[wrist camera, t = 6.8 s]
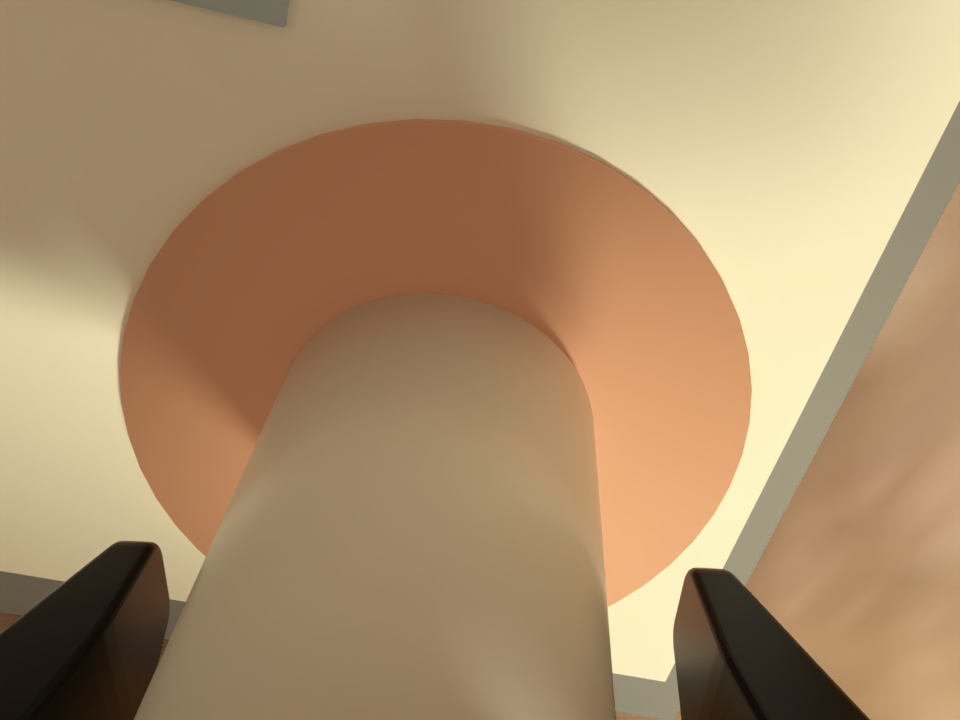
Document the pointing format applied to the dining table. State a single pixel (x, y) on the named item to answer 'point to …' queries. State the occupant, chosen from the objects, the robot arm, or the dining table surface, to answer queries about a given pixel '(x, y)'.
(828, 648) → the dining table surface
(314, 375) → the marker
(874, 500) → the dining table surface
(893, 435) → the dining table surface
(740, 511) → the colouring board
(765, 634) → the robot arm
